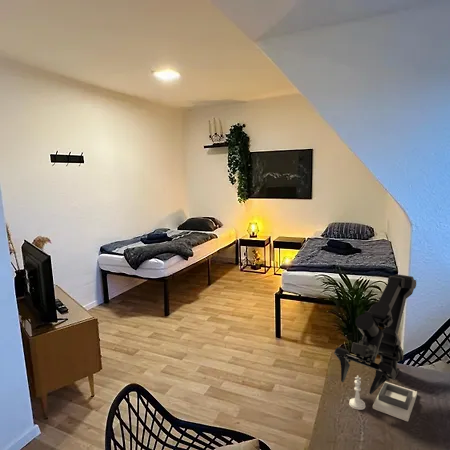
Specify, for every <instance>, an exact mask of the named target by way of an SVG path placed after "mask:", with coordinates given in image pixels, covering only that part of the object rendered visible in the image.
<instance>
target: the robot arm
mask: <svg viewBox="0 0 450 450" xmlns="http://www.w3.org/2000/svg"><path fill="white" fill-rule="evenodd" d="M416 287H417V280H416V279H414V277H413V276H410V275H404V274H398V273H397V274H394V275H389V276H388V278H387V284H386V286H385V288H384V290H383V292H382V294H381V295H380V297H379V300H378V301H377V302H375V303H373V304H371V307H370V308H369V309H368V310H365V311H364V313H362V314H359V315H358V316H357V317H356V318H355V325H356V327H357V329H358V330H359V332H360V333H361V334H362V338H361V339H360V340H359V341H358V342H352V344H351V350H350V351H349V350H348V349H345V348H344V347H340V346H338V347H336V348H335V349H334V355H335V357H336V358H337V359H338V361H339V362H340V382H341V383H344V382H345V380H346V378H347V376H348V372H349V369H350V367H351V364H350V363H351V362H354V363H356V364H359V365H362V366H363V367H364V366H365V367H367V368H370V369H373V370H375V375H374V379H373V381H372V382H371V386H370V388H369V394H370V395H373V393H374V392H375V391H376V390H377V389H378V388H380V386H382V385H383V384H384V383H385V382H390V381H395V380H396V378H397V376H398V375H399V372H400V368H399V367H398V362H400V361H401V362H402V361H403V360H404V353H405V352H404V350H403V348H402V346H401V343H402V342H401V340H400V337H399V330H400V326H401V322H402V319H403V314H404V310H405V305H406V301H407V299H408V298H409V297H411V295H413V293H414V290H415V289H416ZM382 328H383V329H382ZM351 353H353V354H354V355H353V354H351ZM377 355H379V356H380V361H379V363H376V359H377Z"/></svg>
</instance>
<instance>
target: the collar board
mask: <svg viewBox="0 0 450 450" xmlns="http://www.w3.org/2000/svg"><path fill="white" fill-rule="evenodd" d="M381 386H382V387H381V388H380V390H379V392H378V394H377V397H376V398H375V400H374V402H373V404H372V409H373V410H376V411H378V412H381V413H383V414H387V415H389V416H392V417H394V418H397V419H399V420H402V421H405V422H409V420H410V417H411V414H412V411H413V408H414V405H415V403H416V399H417V396H418V391H417V390H416V391H415V390H413V389H410V388H407V387H404V386H400V385H397V384H394V383H391V382H389V381H385V382H384V383H383V384H382V385H381Z"/></svg>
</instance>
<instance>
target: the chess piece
mask: <svg viewBox="0 0 450 450" xmlns="http://www.w3.org/2000/svg"><path fill="white" fill-rule="evenodd" d="M354 379H355V380H354V385H355V386H354V388H353V389H354V391H355V395H354V397H352V398H350V399H349V403H348V404H349V406H350V408H353V409H355V410H361V411H362V410H365V408H366V403H365V401H363V399H361V397H360V396H361V395H360V391H362V388H361V384H362V381H361V379H362V377H359V375H356V377H354Z"/></svg>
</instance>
